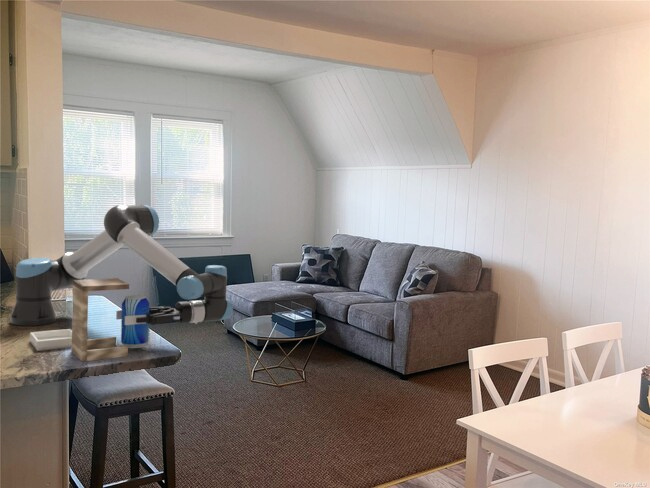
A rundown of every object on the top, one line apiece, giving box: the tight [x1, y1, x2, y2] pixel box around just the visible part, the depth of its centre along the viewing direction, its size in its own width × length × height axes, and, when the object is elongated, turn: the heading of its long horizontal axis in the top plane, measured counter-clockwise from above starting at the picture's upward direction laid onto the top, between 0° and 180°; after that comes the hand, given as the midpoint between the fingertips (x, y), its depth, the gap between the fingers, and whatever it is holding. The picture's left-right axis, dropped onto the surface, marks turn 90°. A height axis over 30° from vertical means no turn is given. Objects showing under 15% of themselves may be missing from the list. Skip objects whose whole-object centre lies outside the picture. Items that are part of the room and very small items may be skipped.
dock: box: [71, 277, 130, 362], centre depth 173 cm, size 14×13×22 cm
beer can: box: [120, 294, 150, 349], centre depth 180 cm, size 8×8×16 cm
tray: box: [29, 328, 72, 351], centre depth 181 cm, size 12×12×3 cm
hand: (120, 317), depth 177 cm, fingers closed on beer can, 8 cm apart
